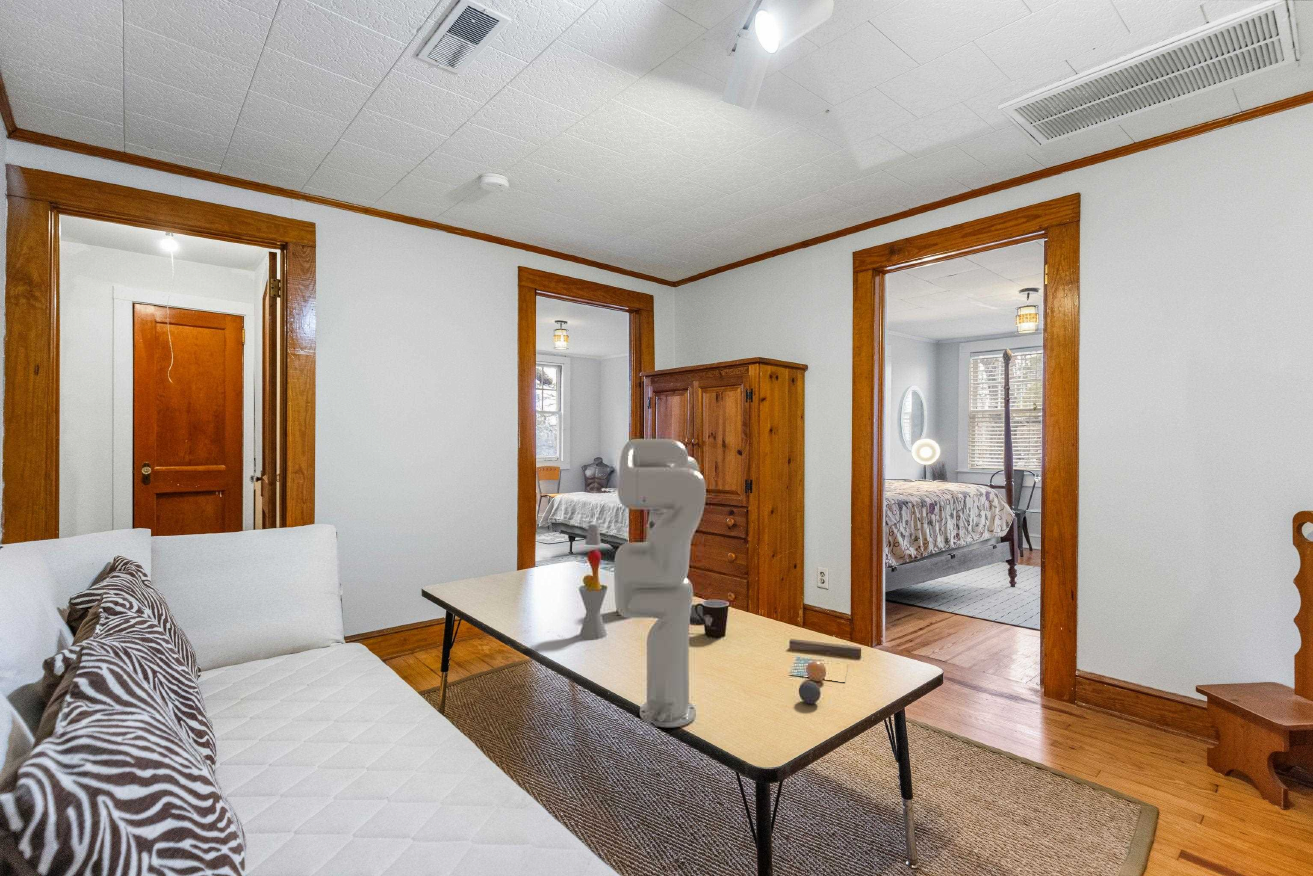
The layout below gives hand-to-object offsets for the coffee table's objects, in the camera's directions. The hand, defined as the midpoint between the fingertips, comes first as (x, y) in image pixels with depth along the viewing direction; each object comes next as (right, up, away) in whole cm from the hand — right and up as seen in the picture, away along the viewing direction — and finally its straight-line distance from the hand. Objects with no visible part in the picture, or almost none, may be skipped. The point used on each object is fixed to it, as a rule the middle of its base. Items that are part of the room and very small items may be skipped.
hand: (663, 572), depth 165 cm
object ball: (+39, -24, -8) cm, 46 cm away
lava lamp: (-22, -26, +28) cm, 44 cm away
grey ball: (+34, -24, -22) cm, 47 cm away
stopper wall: (+47, -26, +12) cm, 55 cm away
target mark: (+42, -26, -1) cm, 49 cm away
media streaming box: (+13, -27, +47) cm, 56 cm away
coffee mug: (+16, -26, +29) cm, 42 cm away
